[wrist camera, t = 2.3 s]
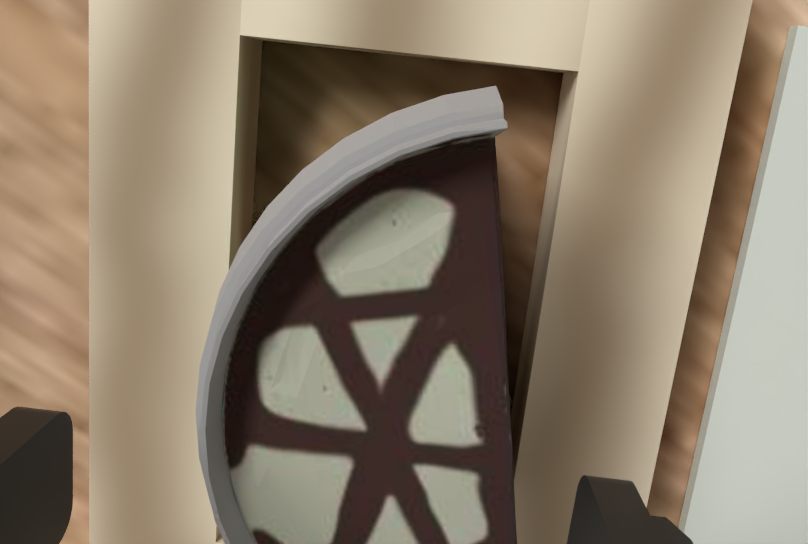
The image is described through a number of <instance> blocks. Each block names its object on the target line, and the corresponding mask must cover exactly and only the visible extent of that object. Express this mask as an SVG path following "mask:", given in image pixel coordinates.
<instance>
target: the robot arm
mask: <svg viewBox="0 0 808 544" xmlns="http://www.w3.org/2000/svg"><path fill="white" fill-rule="evenodd" d="M72 502H73V428H72V421H71V418H70V416H69V415H68V414H67V413H66V412H60V411H51V410H43V409H34V408H26V407H15V408H13V409H11V410H10V411H9V412H8V413H6V414H5V415H4V416H2V417H1V418H0V544H59V543H60V541H61V540H62V538H63V536H64V534H65V532H66V529H67V526H68V523H69V520H70V516H71V511H72ZM567 544H693V542H692V540H691V539H690V538H689V537H688V536H686V535H685V534H684V533H683V532H682V531H681V530H680V529H678V528H677V527H676V526H675V525H674V524H673V523H672V522H670V521H669V520H668V519H667V518H666V517H657V516H650V514H649V512H648V510H647V508H646V506H645V504H644V502H643V500H642V498H641V496H640V494H639V492H638V490H637V488H636V486H635V485H634V483H633V482H632V481H629V480H620V479H612V478H604V477H595V476H587V475H583V476H582V477H581V479H580V481H579V483H578V487H577V491H576V496H575V502H574V507H573V512H572V518H571V523H570V528H569V534H568V539H567Z"/></svg>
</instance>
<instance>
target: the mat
mask: <svg viewBox="0 0 808 544" xmlns="http://www.w3.org/2000/svg"><path fill="white" fill-rule="evenodd" d="M678 529H680V530H681V531H682V532H683V533H684V534H685V535H686V536H688V537H689V538H690V539H691V540H692V542H693V544H808V27H807V26H792V27H789V32H788V36H787V41H786V45H785V50H784V54H783V59H782V63H781V68H780V72H779V77H778V81H777V86H776V90H775V95H774V99H773V104H772V108H771V113H770V117H769V122H768V126H767V131H766V135H765V140H764V144H763V149H762V153H761V157H760V162H759V166H758V171H757V175H756V180H755V184H754V189H753V193H752V198H751V202H750V207H749V211H748V216H747V220H746V225H745V229H744V234H743V238H742V243H741V247H740V252H739V256H738V261H737V265H736V270H735V274H734V279H733V283H732V288H731V292H730V297H729V301H728V306H727V310H726V315H725V319H724V324H723V328H722V333H721V337H720V342H719V346H718V350H717V355H716V359H715V364H714V368H713V373H712V377H711V382H710V386H709V391H708V395H707V400H706V404H705V409H704V413H703V418H702V422H701V427H700V431H699V436H698V440H697V445H696V449H695V454H694V458H693V463H692V467H691V472H690V476H689V481H688V485H687V490H686V494H685V499H684V503H683V508H682V512H681V517H680V521H679V526H678Z"/></svg>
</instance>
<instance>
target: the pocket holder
mask: <svg viewBox="0 0 808 544" xmlns="http://www.w3.org/2000/svg"><path fill="white" fill-rule="evenodd" d="M752 1H753V0H89V544H225V543H224V541H223V538H222V536H221V534H220V531H219V529H218V527H217V525H216V522H215V519H214V515H213V511H212V507H211V504H210V500H209V496H208V492H207V488H206V484H205V480H204V476H203V472H202V468H201V464H200V460H199V450H198V437H197V424H196V401H197V391H198V380H199V369H200V362H201V358H202V355H203V351H204V347H205V343H206V340H207V336H208V332H209V328H210V324H211V321H212V317H213V313H214V309H215V306H216V302H217V298H218V294H219V291H220V289H221V287H222V284H223V282H224V280H225V278H226V276H227V273H228V271H229V269H230V267H231V265H232V263H233V260H234V258H235V256H236V254H237V252H238V249H239V247H240V246H241V244H242V243H243V241H244V240H245V238H246V237H247V236H248V234H249V233H250V231H251V230H252V223H253V205H254V187H255V169H256V150H257V132H258V114H259V96H260V78H261V59H262V41H272V42H282V43H291V44H300V45H310V46H319V47H328V48H338V49H347V50H356V51H365V52H375V53H384V54H393V55H403V56H412V57H421V58H430V59H440V60H449V61H458V62H468V63H477V64H486V65H496V66H505V67H514V68H523V69H533V70H542V71H551V72H561V73H563V78H562V85H561V91H560V98H559V105H558V111H557V118H556V124H555V131H554V137H553V144H552V150H551V157H550V163H549V170H548V177H547V183H546V190H545V196H544V203H543V209H542V216H541V222H540V229H539V235H538V242H537V248H536V255H535V262H534V268H533V275H532V281H531V288H530V294H529V301H528V307H527V314H526V320H525V327H524V333H523V340H522V347H521V353H520V360H519V366H518V373H517V379H516V386H515V392H514V399H513V405H512V412H511V433H512V451H513V471H514V477H515V478H514V494H515V516H516V534H517V544H567V539H568V534H569V528H570V523H571V518H572V512H573V507H574V502H575V496H576V491H577V487H578V483H579V481H580V479H581V477H582V476H583V475H587V476H595V477H604V478H612V479H620V480H629V481H632V482H633V483H634V485H635V486H636V488H637V490H638V492H639V494H640V496H641V498H642V500H643V502H644V504H645V506H646V508H647V503H648V498H649V493H650V489H651V484H652V479H653V474H654V469H655V465H656V460H657V455H658V450H659V446H660V441H661V436H662V431H663V426H664V422H665V417H666V412H667V407H668V403H669V398H670V393H671V388H672V383H673V379H674V374H675V369H676V364H677V360H678V355H679V350H680V345H681V340H682V336H683V331H684V326H685V321H686V317H687V312H688V307H689V302H690V297H691V293H692V288H693V283H694V278H695V274H696V269H697V264H698V259H699V254H700V250H701V245H702V240H703V235H704V231H705V226H706V221H707V216H708V211H709V207H710V202H711V197H712V192H713V187H714V183H715V178H716V173H717V168H718V164H719V159H720V154H721V149H722V144H723V140H724V135H725V130H726V125H727V121H728V116H729V111H730V106H731V101H732V97H733V92H734V87H735V82H736V78H737V73H738V68H739V63H740V58H741V54H742V49H743V44H744V39H745V35H746V30H747V25H748V20H749V15H750V11H751V6H752Z"/></svg>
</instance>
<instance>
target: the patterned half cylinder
mask: <svg viewBox="0 0 808 544" xmlns="http://www.w3.org/2000/svg"><path fill="white" fill-rule="evenodd" d="M507 128H508V126H507V121H506V120H505V119H504V112H503V103H502V100H501V97H500V95H499V92H498V89H497V87H496V86H491V87H486V88H480V89H475V90H469V91H463V92H458V93H452V94H447V95H443V96H440V97H437V98H434V99H431V100H428V101H425V102H422V103H419V104H416V105H413V106H410V107H407V108H404V109H401V110H398V111H395V112H392V113H390V114H389V115H387V116H385V117H383V118H381V119H379V120H377V121H375V122H373V123H372V124H370V125H368V126H366V127H364V128H362V129H360V130H358V131H356V132H355V133H353V134H351V135H349V136H347V137H345V138H344V139H342V140H341V141H340V142H338V143H337V144H336V145H334V146H333V147H332V148H330V149H329V150H328V151H326V152H325V153H324V154H322V155H321V156H320V157H318V158H317V159H316V160H314V161H313V162H312V163H310V164H309V165H308V166H306V167H305V168H304V169H302V170H301V172H300V173H299V174H298V175H297V176H296V177H295V178H294V179H293V180H292V181H291V182H290V183H289V184H288V185H287V186H286V187H285V188H284V189H283V190H282V191H281V193H280V194H279V195H278V196H277V197H276V198H275V199H274V200H273V201H272V202H271V203H270V204H269V205H268V206H267V207H266V209H265V210H264V212H263V213H262V215H261V216H260V218H259V219H258V221H257V222H256V224H255V225H254V227H253V228H252V230H251V231H250V233H249V234H248V236H247V237H246V238H245V240H244V241H243V243H242V244H241V246H240V247H239V249H238V252H237V254H236V256H235V258H234V260H233V263H232V265H231V267H230V269H229V271H228V273H227V276H226V278H225V280H224V282H223V284H222V287H221V289H220V291H219V294H218V298H217V302H216V306H215V309H214V313H213V317H212V321H211V324H210V328H209V332H208V336H207V340H206V343H205V347H204V351H203V355H202V358H201V362H200V369H199V380H198V391H197V401H196V424H197V437H198V450H199V460H200V464H201V468H202V472H203V476H204V480H205V484H206V488H207V492H208V496H209V500H210V504H211V507H212V511H213V515H214V519H215V522H216V525H217V527H218V529H219V531H220V534H221V536H222V538H223V541H224V543H225V544H517V534H516V516H515V494H514V478H515V477H514V471H513V451H512V433H511V417H510V404H511V398H510V396H509V385H508V367H507V343H506V319H505V296H504V278H503V259H502V241H501V222H500V205H499V190H498V176H497V162H496V147H495V136H497V135H498V134H500V133H501V132H502V131H504V130H505V129H507Z"/></svg>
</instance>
